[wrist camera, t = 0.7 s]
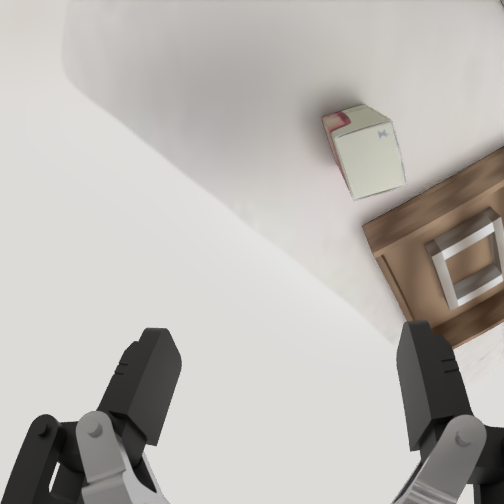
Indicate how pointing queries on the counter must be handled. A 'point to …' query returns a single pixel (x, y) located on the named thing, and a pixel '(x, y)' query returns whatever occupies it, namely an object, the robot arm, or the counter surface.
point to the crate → (448, 252)
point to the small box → (365, 151)
